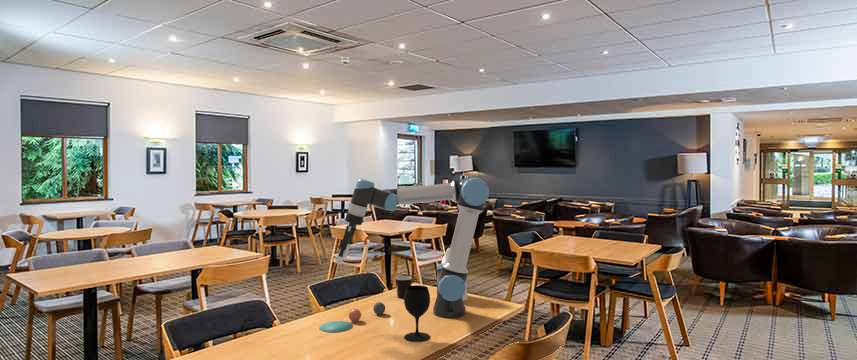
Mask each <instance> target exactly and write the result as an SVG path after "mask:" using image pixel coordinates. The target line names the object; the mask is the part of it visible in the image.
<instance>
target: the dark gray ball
mask: <svg viewBox="0 0 857 360" xmlns="http://www.w3.org/2000/svg"><path fill="white" fill-rule="evenodd" d="M385 310H386V305H385V303H383V302H380V301H379V302H376V303H375V304H373V310H372V311H373V312H374V314H375V315H379V316H380V315H382V314H384V313H385Z"/></svg>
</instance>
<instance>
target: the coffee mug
mask: <svg viewBox="0 0 857 360" xmlns="http://www.w3.org/2000/svg"><path fill="white" fill-rule="evenodd" d="M412 281H413V277H412V276H409V275H407V276H406V275H400V276H396V277H395V286H396V293H397V294H396V295H397V298H398V299H401V300H402V299H403V300H404V295H405V291H406V288H407V287H409V286H412Z"/></svg>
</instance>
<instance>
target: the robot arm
mask: <svg viewBox="0 0 857 360" xmlns="http://www.w3.org/2000/svg"><path fill="white" fill-rule="evenodd" d="M489 196H490V188H489V186H488V184H487V182H486V181H485V180H484V179H482V178H480V177H476V176H470V177H469V176H468V177H465V178H462V179H457V180H452V181H451V182H447V183H438V184H437V183H436V184H428V185H420V186H409V187H401V188H399V187H398V188H390V189H389V188H388V189H387V188H386V189H379V188H376V187H375V183H374V182H373V181H370V180H367V179H365V178H364V179H363V178H360V179H358V180H357V182H356V185H355V187H354V190H353V193H352V196H351V200H350V203H348V204H347V206H348V209H347V213H346V215H345V218H344V220H345V222H347V223H349V224H348V225H346V227H345V231H344V234H343V238H342V239H341V243H340V245H338V247H337V248H338V249H339V250H338V253H337V256H336V259H335V263H334V264H337V265H341V266H342V264H343V261H344V259H347V258H348V256H349V255H348V254H349V251H350V249H351V245H353V244H354V242H353V241H354V240H353V239H354V235H355V233H356V231H357V226H362V224H363V222H364V217H365V216H366V212H367V209H368V206H369V205H370V206H374V207H377V208H380V209H383V210H385V211H389V212H395V210H396V208H397V206H399V205H409V204H419V203H427V202H428V203H429V202H439V201H440V202H441V201H449V200H450V201H451V200H453V201H454V202H457V205H456V206H457V207H458V208H459V211H458V215H457V218H456V221H455V222H456V223H455V228H454V232H453V236H452V239H451V244H450V246H449V248H450V251H449V255H448V260H447V262H446V263H445V264H441V263H438V264H437V266H436V298H435V302H434V304H433V309H432V311H433V314H434V315H435V316H438V317H439V318H440V317H442V318H449V319H450V318H460V317H463V316H465V315H466V314H467V312H466V311H467V310H466V309H467V308H466V306H465V303H464V302H465V301H463V298H462V296H463V295H464V293H465V291H466V283H467V279H468V275H469V271H468V269H467V264H468V260H469V256H470V252H471V247H472V244H473V239H474V236H475V233H476V232H475V231H476V228H477V223H478V219H479V215H480V214H481V213H483V212H484V210H485V206H486V202H487V200H488V198H489Z"/></svg>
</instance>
